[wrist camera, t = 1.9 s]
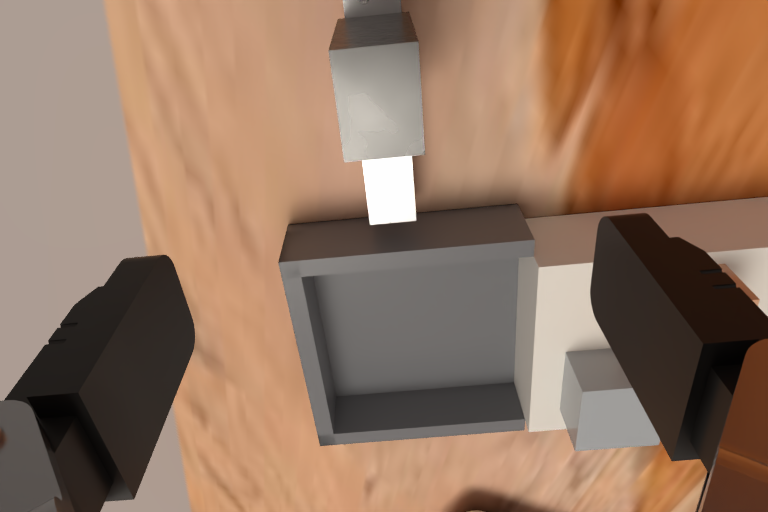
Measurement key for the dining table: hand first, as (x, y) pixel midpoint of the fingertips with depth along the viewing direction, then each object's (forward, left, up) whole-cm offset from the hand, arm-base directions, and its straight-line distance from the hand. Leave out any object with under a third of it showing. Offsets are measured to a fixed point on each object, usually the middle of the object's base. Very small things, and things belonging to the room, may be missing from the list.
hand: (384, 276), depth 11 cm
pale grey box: (+18, +11, -14) cm, 26 cm away
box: (+16, +1, -20) cm, 25 cm away
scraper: (0, 0, -20) cm, 20 cm away
